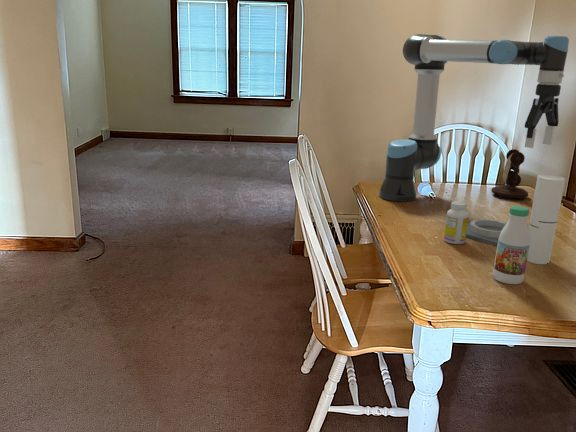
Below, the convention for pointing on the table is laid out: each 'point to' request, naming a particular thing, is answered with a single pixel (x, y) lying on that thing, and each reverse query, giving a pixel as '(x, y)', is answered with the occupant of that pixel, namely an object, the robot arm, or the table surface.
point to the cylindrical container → (544, 217)
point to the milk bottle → (513, 248)
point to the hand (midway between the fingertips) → (538, 145)
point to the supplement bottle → (456, 223)
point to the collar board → (485, 230)
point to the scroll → (511, 177)
